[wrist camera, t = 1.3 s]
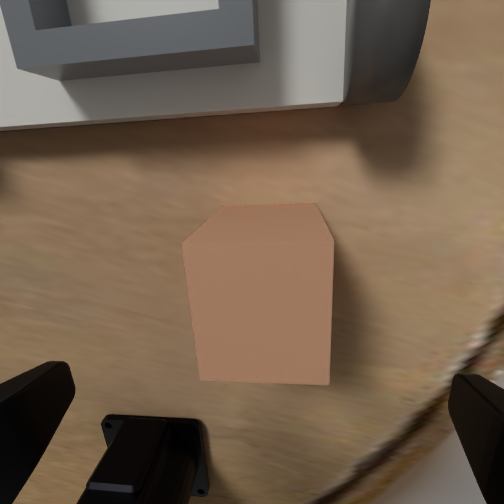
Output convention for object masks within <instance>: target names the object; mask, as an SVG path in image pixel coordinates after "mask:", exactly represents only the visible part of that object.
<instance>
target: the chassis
mask: <svg viewBox="0 0 504 504" xmlns="http://www.w3.org/2000/svg"><path fill="white" fill-rule="evenodd" d="M430 1H431V0H0V131H8V130H21V129H35V128H49V127H62V126H76V125H90V124H103V123H117V122H131V121H145V120H158V119H172V118H186V117H199V116H213V115H227V114H240V113H254V112H268V111H281V110H295V109H309V108H322V107H336V106H338V105H339V104H340V103H341V102H342V103H343V105H356V104H369V103H383V102H393V101H395V100H397V99H398V98H399V97H400V96H401V95H402V93H403V92H404V90H405V88H406V87H407V85H408V82H409V80H410V78H411V76H412V73H413V71H414V68H415V65H416V62H417V59H418V56H419V53H420V49H421V46H422V42H423V38H424V34H425V29H426V25H427V20H428V14H429V8H430Z"/></svg>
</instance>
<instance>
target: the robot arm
mask: <svg viewBox="0 0 504 504" xmlns="http://www.w3.org/2000/svg"><path fill="white" fill-rule="evenodd" d="M74 395H75V384H74V381H73V377H72V374H71V371H70V367H69V365H68V364H67V363H66V362H64V361H49V362H46V363H44V364H41V365H39V366H37V367H35V368H33V369H31V370H29V371H27V372H24V373H22V374H20V375H18V376H16V377H14V378H12V379H10V380H7V381H5V382H3V383H1V384H0V504H12V503H13V502H14V500H15V499H16V497H17V495H18V494H19V492H20V491H21V489H22V488H23V486H24V485H25V483H26V482H27V480H28V478H29V477H30V475H31V474H32V472H33V471H34V469H35V467H36V466H37V464H38V462H39V461H40V459H41V457H42V455H43V454H44V452H45V450H46V448H47V446H48V445H49V443H50V441H51V439H52V437H53V435H54V433H55V432H56V430H57V428H58V426H59V424H60V422H61V421H62V419H63V417H64V415H65V413H66V411H67V409H68V408H69V406H70V404H71V402H72V400H73V398H74ZM448 410H449V414H450V417H451V419H452V422H453V424H454V427H455V429H456V432H457V434H458V437H459V439H460V441H461V444H462V446H463V448H464V451H465V454H466V456H467V459H468V461H469V464H470V466H471V468H472V471H473V473H474V476H475V478H476V480H477V483H478V485H479V488H480V490H481V492H482V495H483V497H484V499H485V501H486V503H487V504H504V389H502V388H501V387H499V386H497V385H496V384H494V383H492V382H490V381H489V380H487V379H485V378H484V377H482V376H480V375H478V374H474V373H457V374H455V375H454V377H453V379H452V385H451V390H450V395H449V400H448ZM101 426H102V430H103V433H104V437H105V441H106V444H107V450H106V452H105V453H104V455H103V457H102V458H101V460H100V462H99V463H98V465H97V467H96V468H95V470H94V472H93V473H92V475H91V477H90V478H89V480H88V482H87V484H86V488H85V490H84V492H83V493H82V495H81V497H80V498H79V500H78V502H77V504H188V503H189V500H190V496H200V497H205V496H207V495H208V492H209V487H210V485H209V478H208V471H207V464H206V458H205V451H204V444H203V437H202V430H201V424H200V423H199V421H197V420H195V419H186V418H168V417H149V416H131V415H112V414H109V415H106V416H105V418H104V419H103V420H102V422H101Z"/></svg>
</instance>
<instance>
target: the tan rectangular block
mask: <svg viewBox="0 0 504 504" xmlns="http://www.w3.org/2000/svg"><path fill="white" fill-rule="evenodd" d="M181 244H182V251H183V259H184V266H185V273H186V281H187V288H188V295H189V303H190V310H191V317H192V325H193V332H194V339H195V347H196V354H197V361H198V369H199V376H200V380H203V381H230V382H256V383H282V384H309V385H329V380H330V351H331V322H332V293H333V264H334V239H333V237H332V235H331V233H330V231H329V229H328V227H327V225H326V223H325V221H324V219H323V217H322V215H321V213H320V211H319V209H318V207H317V205H316V203H302V204H274V205H245V206H222V207H221V208H220V209H219V210H218V211H217V212H216V213H215V214H213V215H212V216H211V217H210V218H209V219H208V220H207V221H206V222H205V223H204V224H202V225H201V226H200V227H199V228H198V229H197V230H196V231H195V232H194V233H193V234H191V235H190V236H189V237H188V238H187V239H186V240H185V241H184V242H183V243H181Z"/></svg>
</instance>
